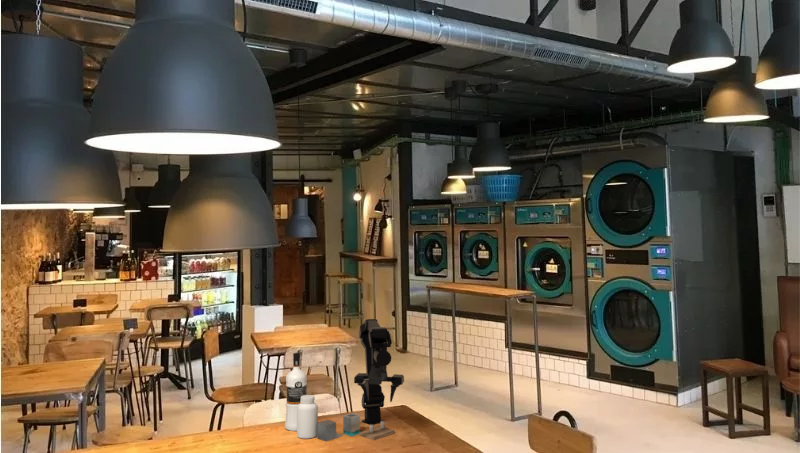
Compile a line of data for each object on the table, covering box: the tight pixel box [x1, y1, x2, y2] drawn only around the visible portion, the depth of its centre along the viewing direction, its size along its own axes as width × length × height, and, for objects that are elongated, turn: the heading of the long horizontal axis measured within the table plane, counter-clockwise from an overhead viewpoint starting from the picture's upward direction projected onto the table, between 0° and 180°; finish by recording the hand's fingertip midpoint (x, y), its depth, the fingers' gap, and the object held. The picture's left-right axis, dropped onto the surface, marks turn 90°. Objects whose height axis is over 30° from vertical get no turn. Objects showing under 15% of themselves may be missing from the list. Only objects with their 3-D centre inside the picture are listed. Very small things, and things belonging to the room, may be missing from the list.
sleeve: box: [342, 412, 361, 437], centre depth 219 cm, size 5×5×7 cm
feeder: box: [316, 419, 343, 442], centre depth 215 cm, size 5×8×6 cm, turn 137°
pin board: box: [359, 420, 395, 441], centre depth 218 cm, size 8×11×4 cm
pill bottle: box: [296, 394, 319, 439], centre depth 218 cm, size 8×8×15 cm
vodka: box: [284, 352, 308, 432], centre depth 228 cm, size 9×9×30 cm
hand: (379, 401), depth 218 cm, fingers open, 9 cm apart
